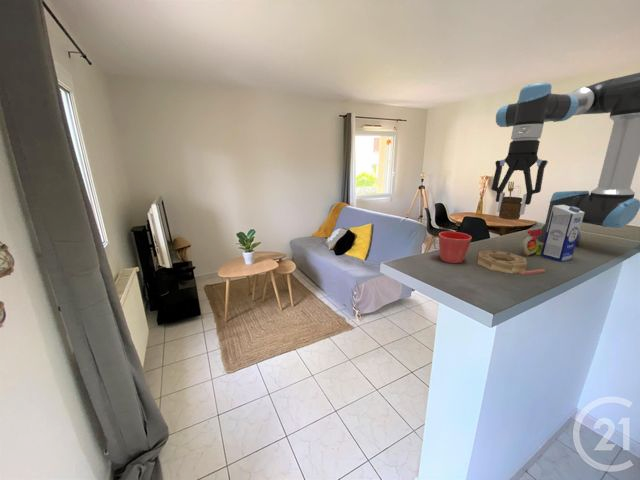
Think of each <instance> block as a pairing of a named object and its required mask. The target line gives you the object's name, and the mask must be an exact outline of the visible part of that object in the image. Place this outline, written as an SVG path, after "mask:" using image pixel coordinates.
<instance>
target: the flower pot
mask: <svg viewBox="0 0 640 480" xmlns="http://www.w3.org/2000/svg"><path fill="white" fill-rule="evenodd" d="M472 237H473V236H472V235H470V234H468V233H464V232H459V231H449V230H448V231H441V232H439V233H438V247H439V256H440V260H441V261H444V262H446V263H451V264H459V263H463V262H464V258H465V256H466V254H467V252H468V249H469V248H470V244H471V242H472V240H473V238H472Z"/></svg>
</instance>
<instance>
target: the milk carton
mask: <svg viewBox="0 0 640 480" xmlns="http://www.w3.org/2000/svg"><path fill="white" fill-rule="evenodd" d="M584 213H585V212H583V211H580V209H579V208H577V207H573V206H571V207H570V206H566V205H556V206H553V208H552V212H551V216H550V220H549V224H548V228H547V232H546V236H545V240H544V242H543V243H542V244H543V248H542V252H541V254H540V257H542V258H545V259H549V260H553V261H556V262H559V263H560V262H565V261H569V260H572V258H573V255H574V252H575V247H576V246H575V245H576V241H577V238H578V234H579V230H580V231H581V227H582V220H583V216H584Z"/></svg>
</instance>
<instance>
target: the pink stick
mask: <svg viewBox="0 0 640 480" xmlns="http://www.w3.org/2000/svg"><path fill="white" fill-rule="evenodd" d="M546 271H547V270H546V269H544V268H542V269H541V268H540V269H534V270H533V269H532V270H526V271H524V272H519V273H518V275H520V276H526V275H534V274H542V273H546Z"/></svg>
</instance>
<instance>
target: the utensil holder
mask: <svg viewBox="0 0 640 480" xmlns="http://www.w3.org/2000/svg"><path fill="white" fill-rule="evenodd" d="M514 184H515V181H508V183H507V185H508V187H507V191H508V192H509V196H504V198H503V201H504V202H502V204H501V207H500V212H498V218H499V219H503V220H510V221H512V220H513V221H514V220H515V221H516V220H519V219H520V217H521V215H519V214H520V209H521V205H522V200H523V197H520V195H518V194H521V192H522V190H520V188H521V185H520V186H519V185H518V188H517V187H515V186H514ZM516 189H518V190H516ZM513 191H514V193H513ZM516 191H517V193H516ZM519 191H520V192H519ZM512 193H513V195H515V193H516V196H512Z"/></svg>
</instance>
